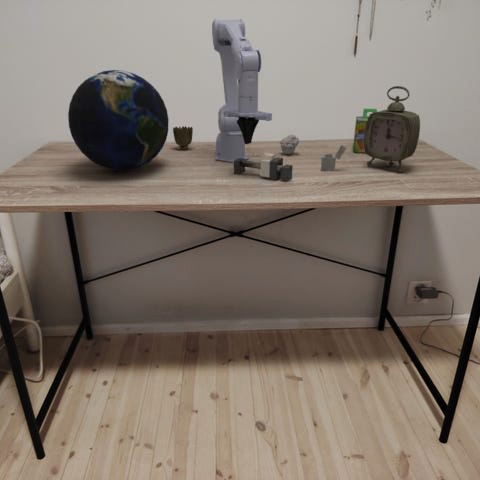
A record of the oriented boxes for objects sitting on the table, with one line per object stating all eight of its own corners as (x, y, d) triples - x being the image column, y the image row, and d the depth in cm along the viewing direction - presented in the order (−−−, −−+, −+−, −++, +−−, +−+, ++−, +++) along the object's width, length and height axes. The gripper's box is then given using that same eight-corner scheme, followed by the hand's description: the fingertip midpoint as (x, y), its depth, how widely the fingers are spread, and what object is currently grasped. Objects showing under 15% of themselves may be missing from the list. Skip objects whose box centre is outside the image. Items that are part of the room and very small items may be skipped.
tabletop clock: (360, 166, 143) (370, 85, 132) (374, 160, 149) (384, 83, 138) (403, 175, 134) (417, 89, 123) (415, 169, 140) (429, 86, 129)
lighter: (321, 171, 139) (323, 145, 135) (320, 169, 140) (322, 144, 137) (344, 171, 139) (346, 145, 135) (343, 169, 140) (345, 144, 137)
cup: (192, 151, 162) (191, 129, 158) (172, 151, 162) (171, 129, 159) (194, 146, 169) (193, 125, 165) (175, 146, 169) (174, 125, 165)
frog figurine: (298, 156, 154) (299, 137, 151) (278, 156, 155) (279, 136, 152) (298, 152, 160) (299, 133, 157) (279, 152, 161) (280, 132, 158)
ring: (269, 178, 130) (269, 161, 128) (276, 173, 134) (277, 157, 132) (275, 179, 129) (275, 162, 127) (282, 174, 134) (283, 157, 131)
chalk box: (352, 153, 159) (357, 110, 152) (352, 147, 167) (356, 106, 160) (379, 154, 157) (384, 111, 151) (377, 148, 165) (383, 107, 159)
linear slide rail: (233, 173, 137) (233, 160, 135) (239, 170, 139) (239, 157, 138) (287, 182, 129) (287, 167, 127) (291, 178, 132) (292, 164, 130)
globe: (124, 152, 161) (114, 65, 148) (190, 164, 147) (185, 68, 134) (56, 173, 138) (36, 72, 125) (126, 189, 124) (112, 76, 111)
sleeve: (260, 176, 132) (260, 155, 129) (267, 171, 135) (267, 152, 133) (269, 177, 130) (270, 157, 128) (276, 173, 134) (276, 153, 131)
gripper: (219, 96, 126) (220, 143, 132) (264, 99, 120) (263, 148, 126) (231, 93, 132) (231, 138, 138) (275, 96, 126) (274, 143, 131)
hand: (247, 143), depth 132 cm, fingers closed
